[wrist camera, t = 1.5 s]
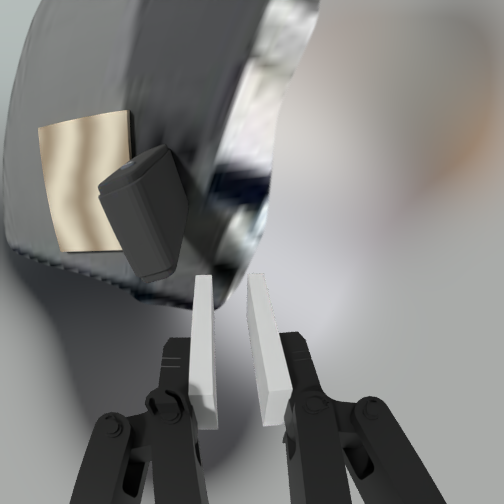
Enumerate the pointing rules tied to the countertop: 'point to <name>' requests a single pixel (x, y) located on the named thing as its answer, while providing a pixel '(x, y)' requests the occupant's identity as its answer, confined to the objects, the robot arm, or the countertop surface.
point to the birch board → (83, 176)
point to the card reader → (147, 212)
